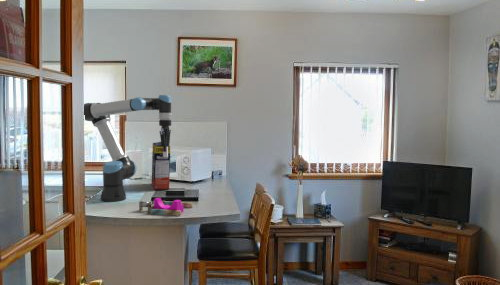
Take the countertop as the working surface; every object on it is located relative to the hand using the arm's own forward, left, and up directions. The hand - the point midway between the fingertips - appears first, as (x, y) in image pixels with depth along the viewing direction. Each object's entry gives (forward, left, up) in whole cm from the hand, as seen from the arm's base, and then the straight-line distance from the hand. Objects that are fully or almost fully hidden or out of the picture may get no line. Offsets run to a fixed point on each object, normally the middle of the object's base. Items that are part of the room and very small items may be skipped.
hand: (165, 156), depth 264 cm
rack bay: (+17, -30, -26) cm, 43 cm away
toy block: (+16, -34, -27) cm, 46 cm away
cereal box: (-18, +33, -27) cm, 46 cm away
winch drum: (+2, -34, -26) cm, 43 cm away
